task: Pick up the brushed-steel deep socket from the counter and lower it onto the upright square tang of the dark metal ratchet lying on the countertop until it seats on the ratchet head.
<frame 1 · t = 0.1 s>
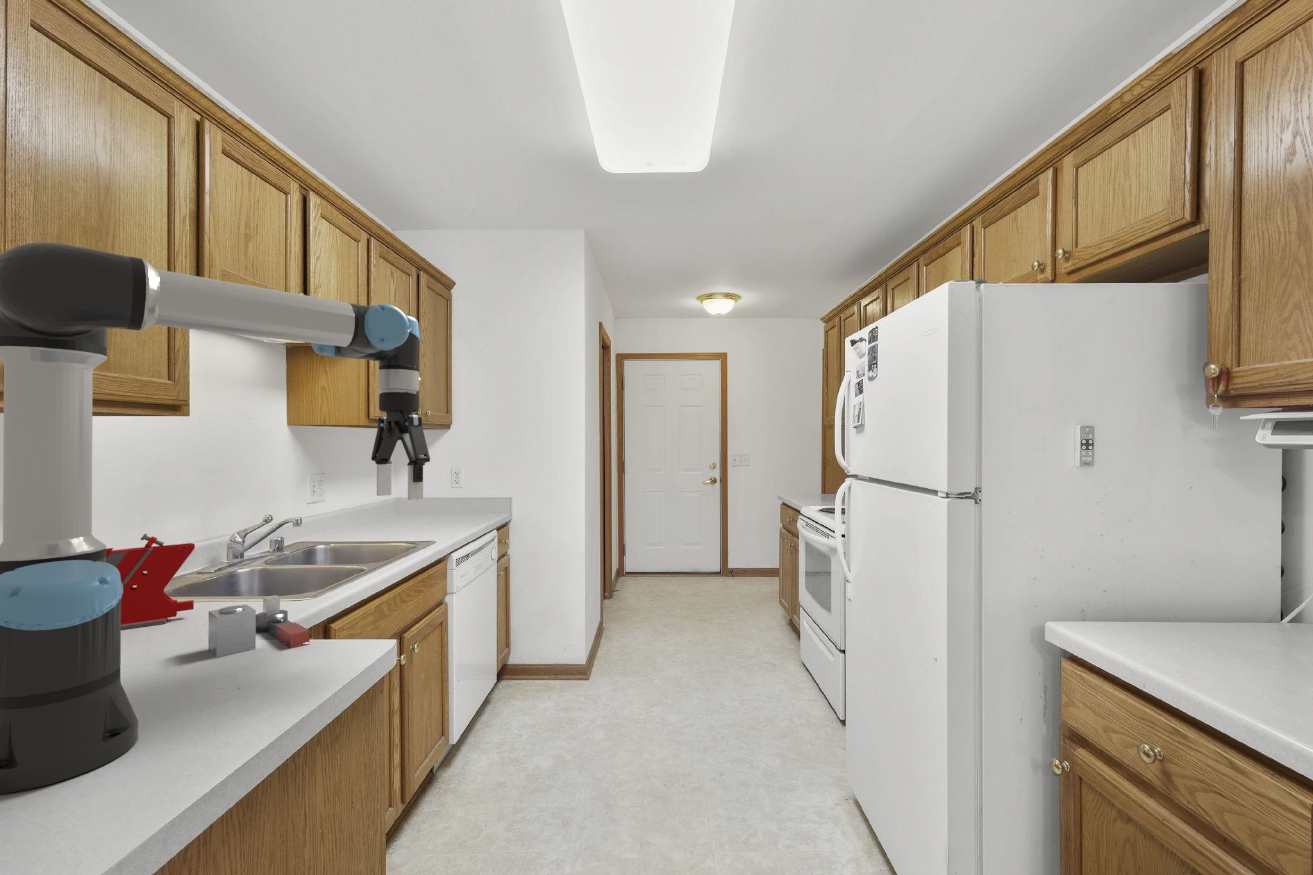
hand: (399, 497, 118), 28 cm above the counter, fingers open, 13 cm apart
tool: (112, 630, 123), on the counter
socket: (232, 649, 110), on the counter
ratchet: (271, 627, 123), on the counter
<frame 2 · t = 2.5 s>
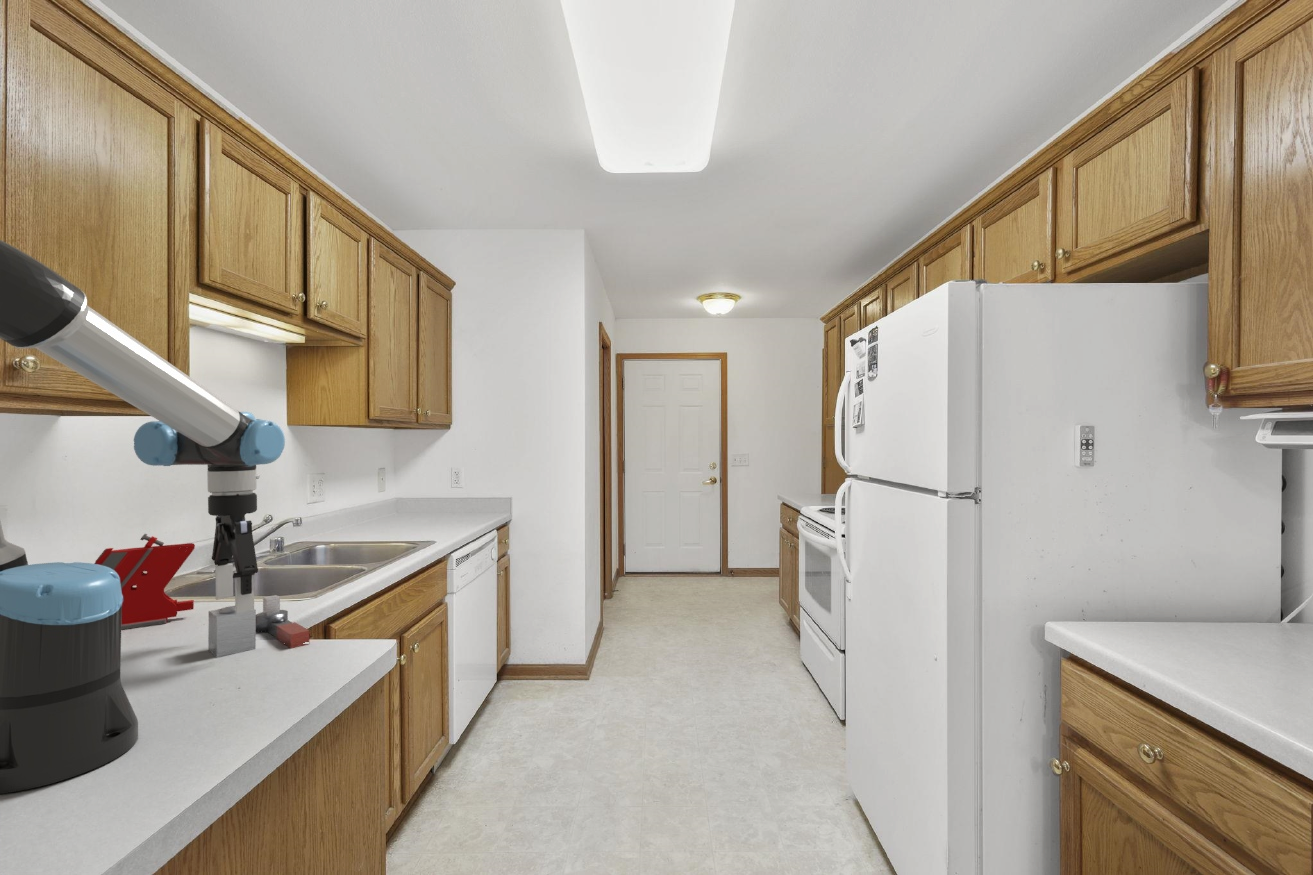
hand: (234, 604, 111), 8 cm above the counter, fingers open, 13 cm apart
nothing on the counter moved.
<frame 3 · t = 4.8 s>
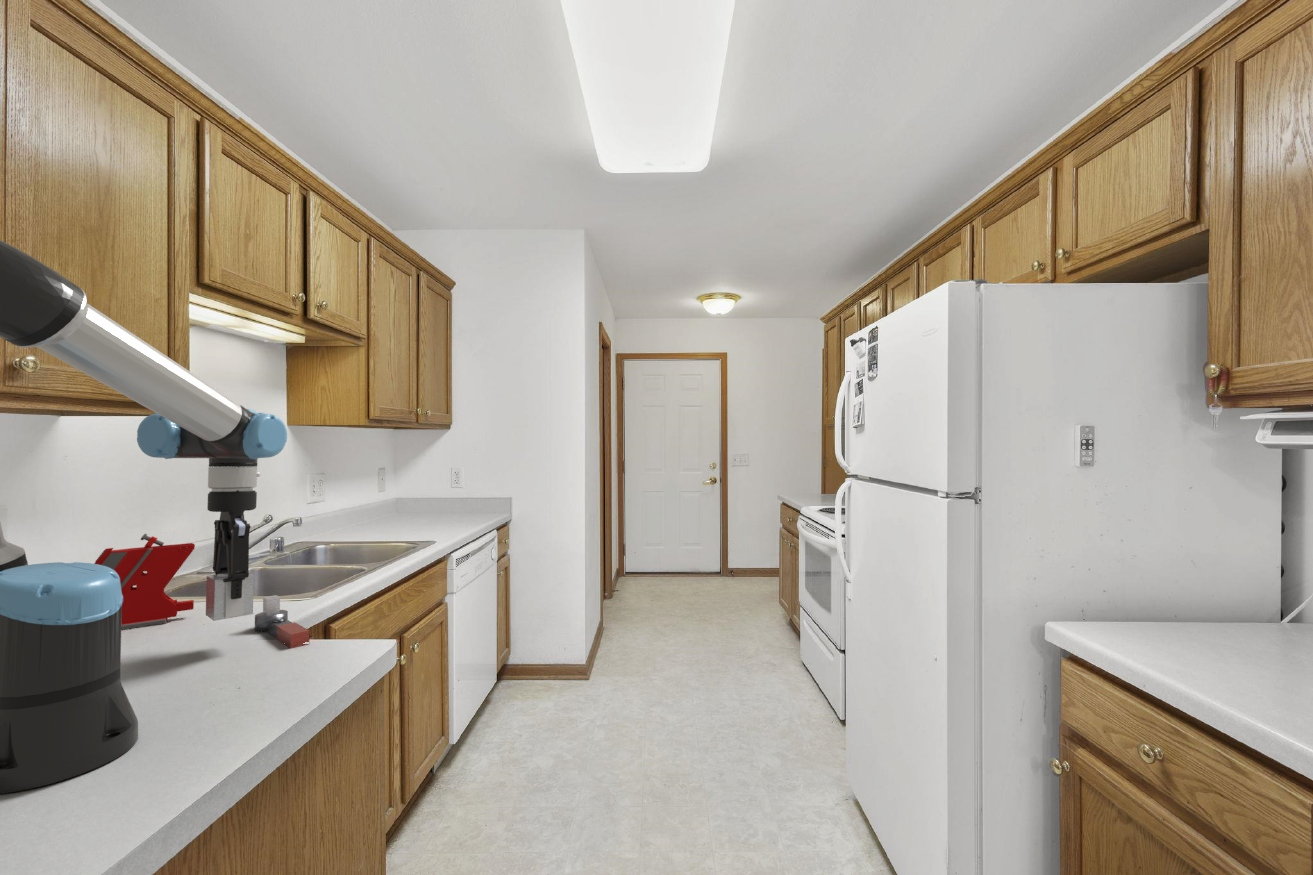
hand: (228, 612, 110), 7 cm above the counter, fingers closed on socket, 6 cm apart
socket: (229, 614, 110), point 7 cm above the counter, touching gripper
everything else where it was.
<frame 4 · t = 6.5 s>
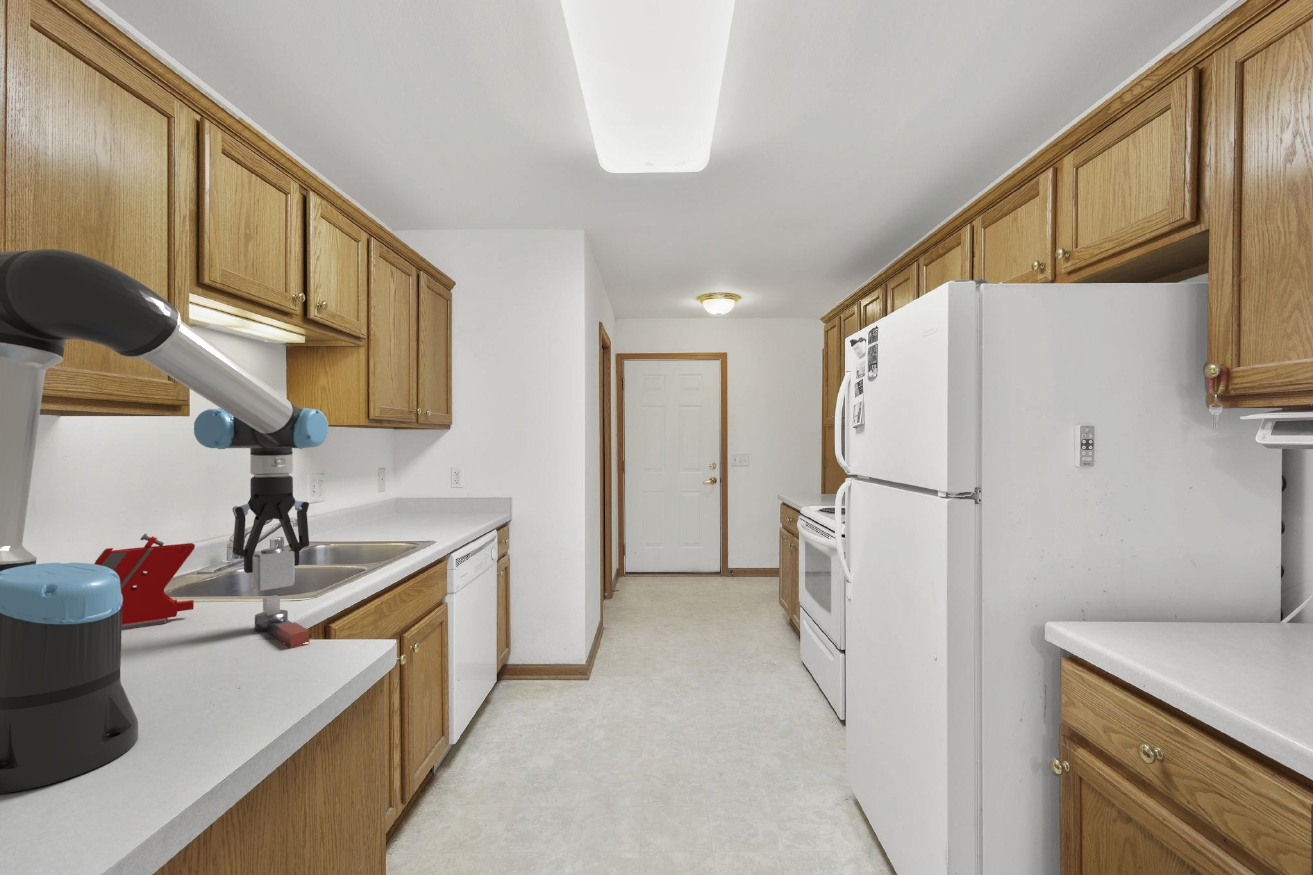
hand: (272, 584, 123), 9 cm above the counter, fingers closed on socket, 6 cm apart
socket: (272, 585, 123), point 9 cm above the counter, touching gripper
everything else where it was.
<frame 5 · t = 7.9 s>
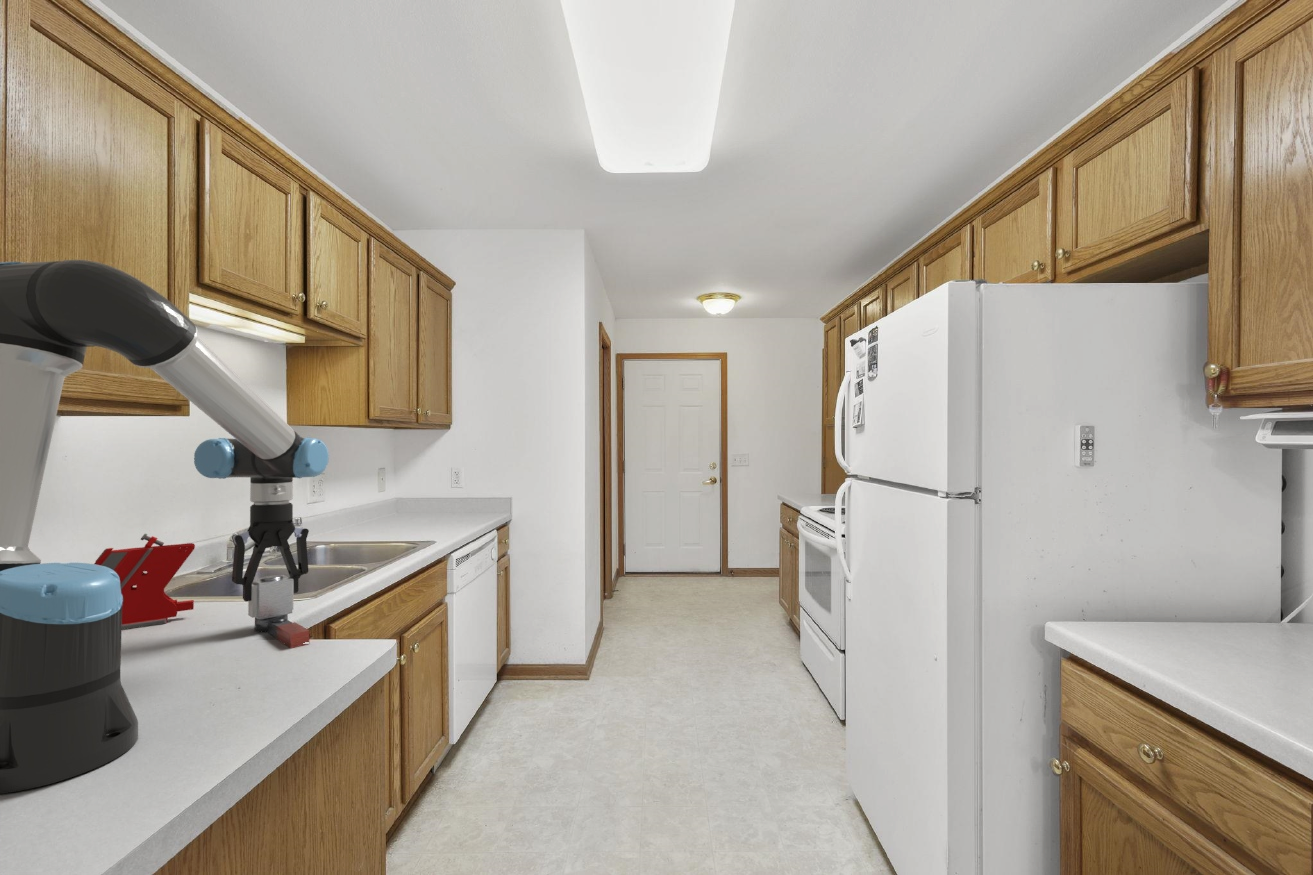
hand: (271, 612, 123), 3 cm above the counter, fingers closed on socket, 6 cm apart
socket: (271, 613, 123), point 3 cm above the counter, touching gripper
everything else where it was.
when the fingers open (3 cm above the counter, at t = 8.5 s): socket stays where it is, resting on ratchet.
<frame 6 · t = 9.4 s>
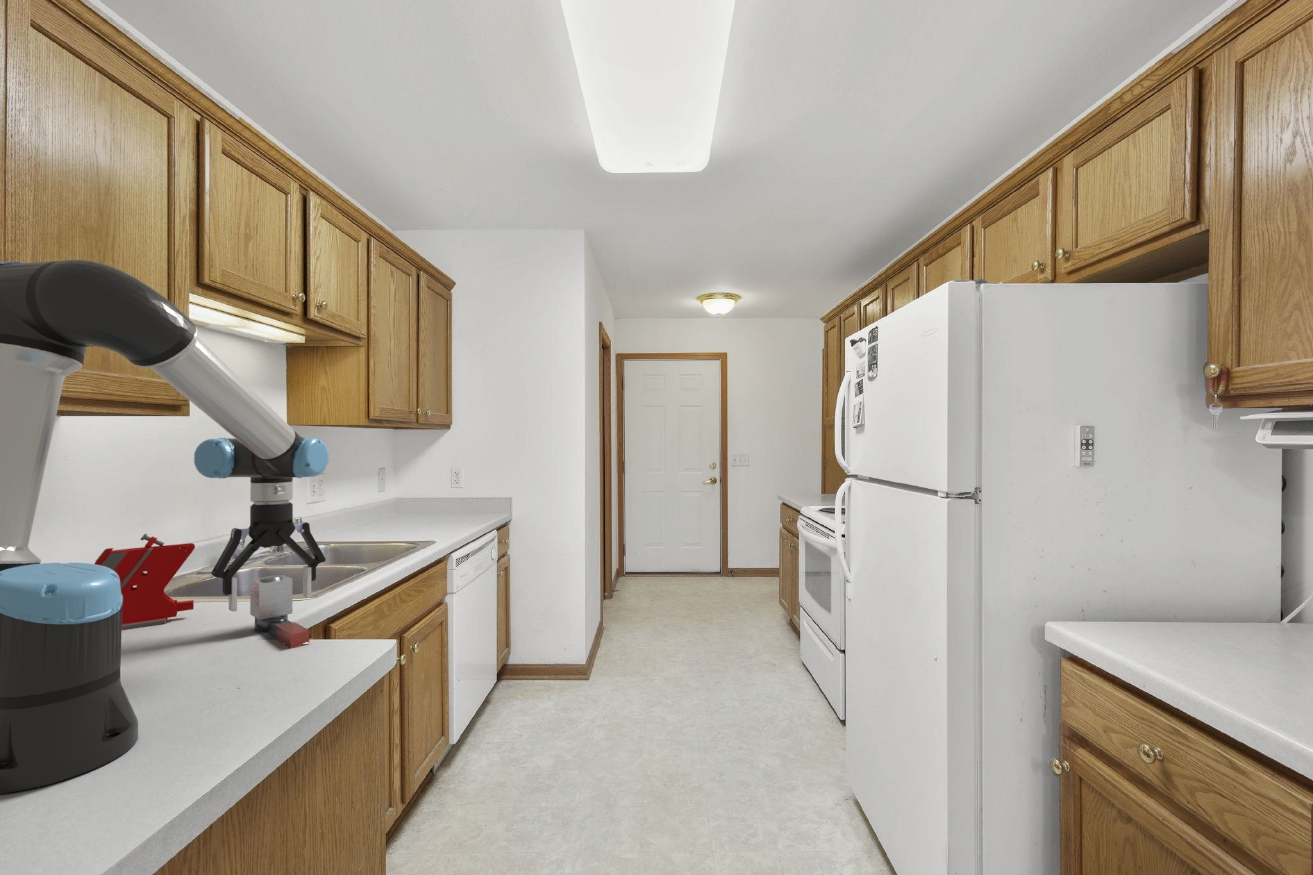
hand: (271, 603, 123), 5 cm above the counter, fingers open, 13 cm apart
socket: (271, 613, 123), point 3 cm above the counter, touching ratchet
everything else where it was.
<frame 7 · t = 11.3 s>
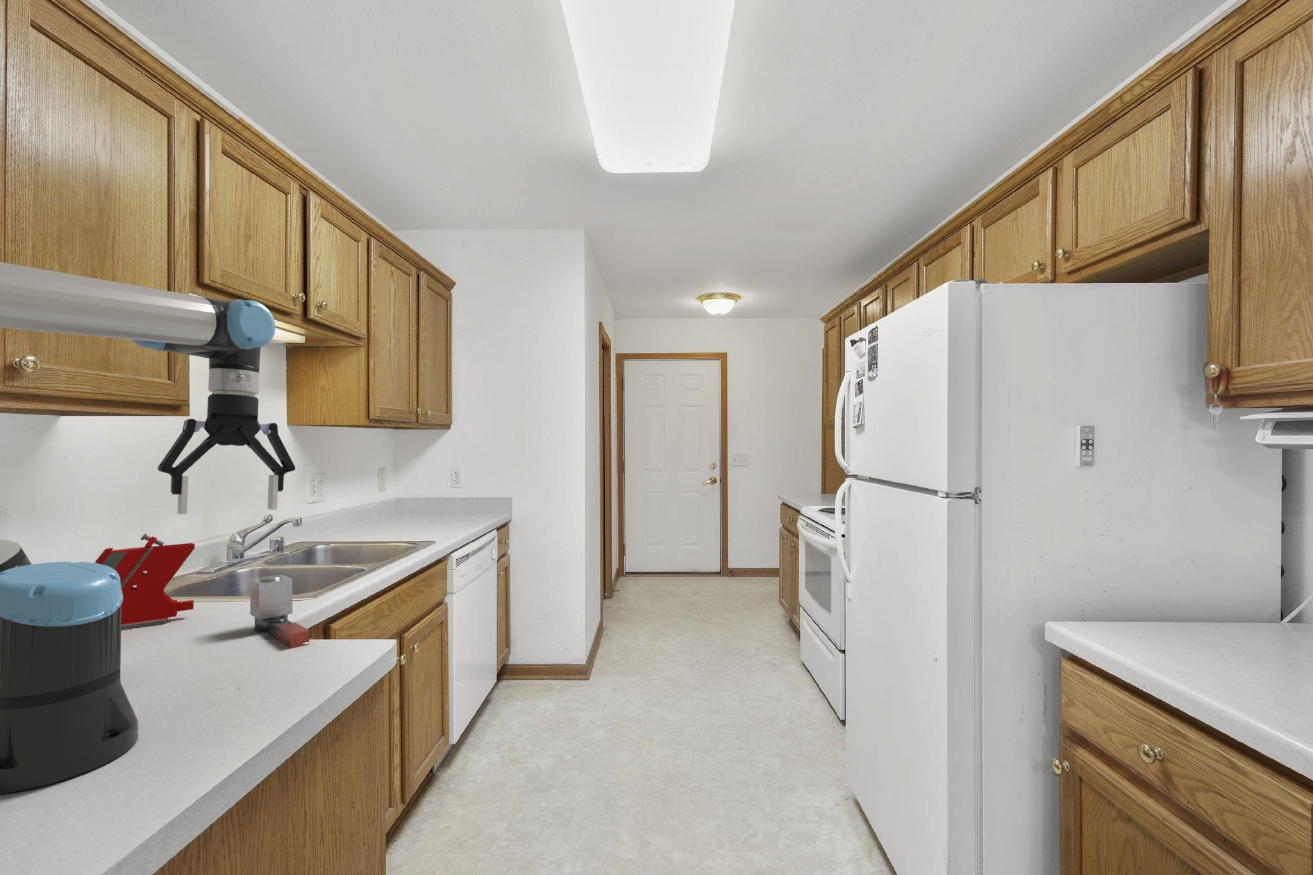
hand: (229, 511, 106), 27 cm above the counter, fingers open, 13 cm apart
nothing on the counter moved.
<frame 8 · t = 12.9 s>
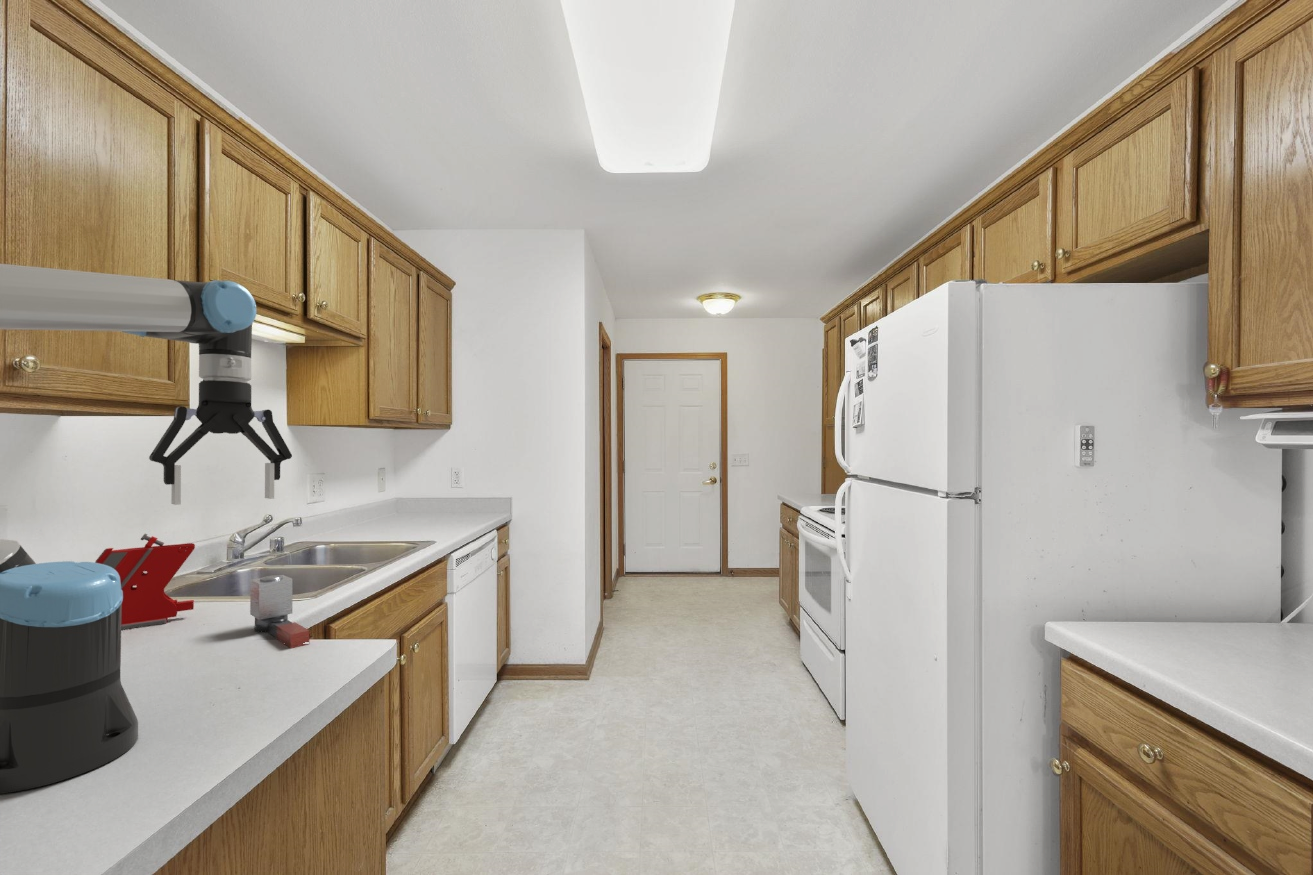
hand: (225, 501, 103), 29 cm above the counter, fingers open, 13 cm apart
nothing on the counter moved.
at the end: socket 0.1 cm off-centre on the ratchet, point 3.0 cm above the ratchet's base; socket tilted 0°; the gripper is holding nothing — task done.
